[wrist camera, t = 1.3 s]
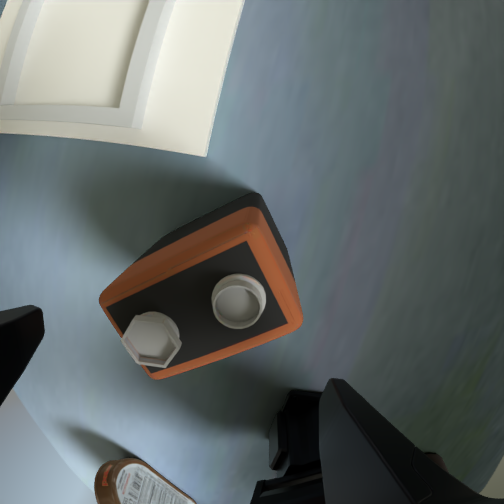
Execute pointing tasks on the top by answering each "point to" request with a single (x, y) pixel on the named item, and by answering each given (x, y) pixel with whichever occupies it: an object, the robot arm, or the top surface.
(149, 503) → the tin
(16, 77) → the charging cradle
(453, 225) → the top surface
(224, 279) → the battery
